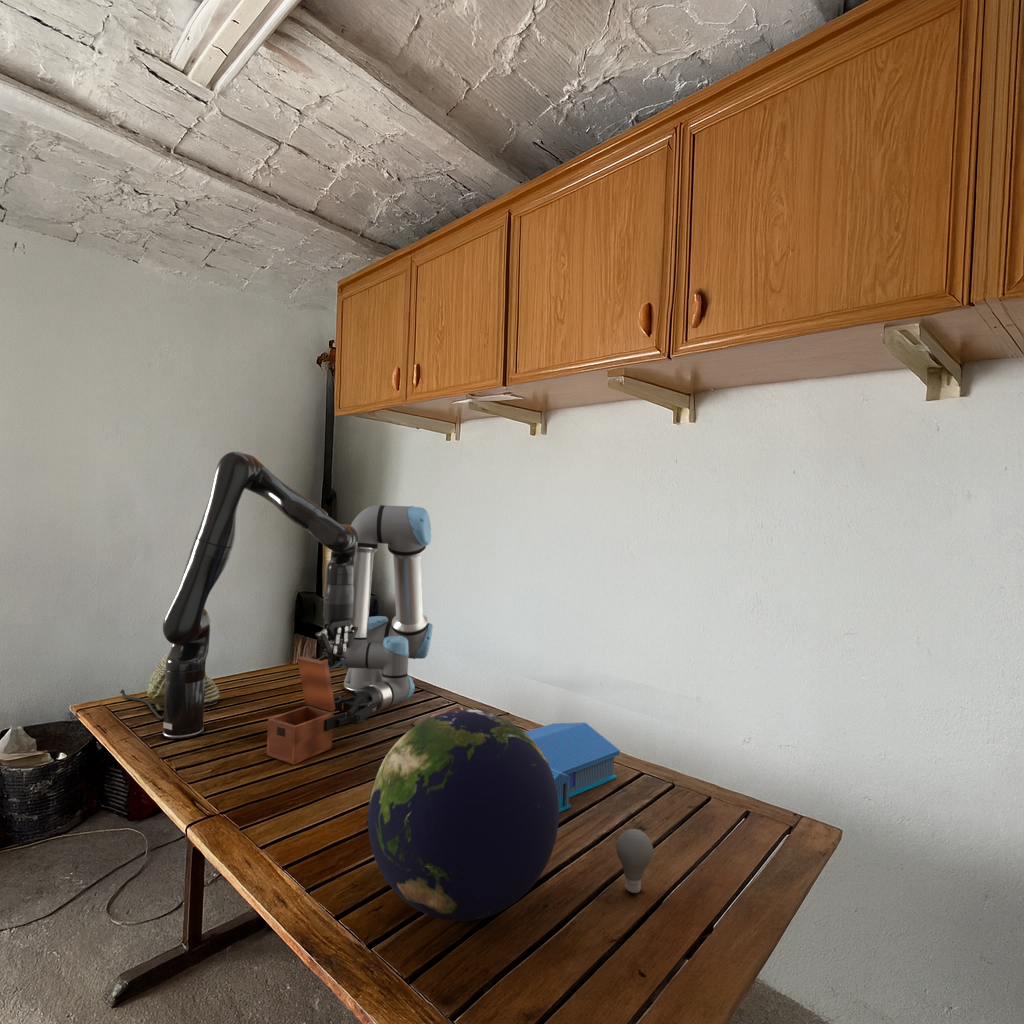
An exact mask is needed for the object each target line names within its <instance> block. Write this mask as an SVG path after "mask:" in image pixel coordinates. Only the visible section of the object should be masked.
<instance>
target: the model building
mask: <svg viewBox="0 0 1024 1024" xmlns="http://www.w3.org/2000/svg"><path fill="white" fill-rule="evenodd" d="M524 732H525V733H526V734H527V735H528V736H529V737H530V738H531V739H532V740H533V741H534V742H535V743H536V744H537V746H538V747H539V748H540V750H541V751H542V753H543V754H544V756H545V758H546V760H547V761H548V764H549V766H550V769H551V771H552V774H553V777H554V780H555V784H556V788H557V793H558V801H559V813H562V812H563V811H566V810H569V809H571V808H572V805H571V804H570V798H572V797H575V796H577V795H580V794H582V793H585V792H587V791H589V790H591V789H594V788H597V787H599V786H601V785H603V784H605V783H609V782H610V781H613V780H615V779H617V778H618V776H617V775H616V774H614V771H615V770H614V768H615V767H614V765H615V757H617V756H620V754H621V750H620V749H619V748H618V747H617V746H616V745H614V744H613V743H612V742H611V741H610V740H607V738H605V737H604V736H603V735H601V734H600V733H599V732H598V731H597V730H596V729H594V728H593V727H592V726H591V725H589V724H588V723H587V722H560V723H559V722H558V723H555V722H554V723H550V724H546V725H544V726H543V725H542V726H540V727H537V728H533V729H530V730H526V731H524Z"/></svg>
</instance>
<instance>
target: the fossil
mask: <svg viewBox="0 0 1024 1024" xmlns="http://www.w3.org/2000/svg"><path fill="white" fill-rule="evenodd" d="M168 655H169V654H165V655H164V656H163V657H162V658H161V659H160V660H159V662H158V663H157V666H156V667H155V669H154V670H153V672H152V675H151V677H150V680H149V684H148V688H147V697H148V699H149V700H150V701H152V703H153V704H154V706H155V710H156V711H158V712H159V711H162V712H163V711H164V705H165V674H166V659H167V657H168ZM220 698H221V696H220V690H219V688H218V686H217V685H216V683H215V682H214V681H213V679H212V678H211V677H209V675H208V674H207V672H206V671H205V693H204V707H207V706H213V705H215V704H217V703H218V701H219V699H220Z"/></svg>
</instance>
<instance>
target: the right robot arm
mask: <svg viewBox="0 0 1024 1024" xmlns="http://www.w3.org/2000/svg"><path fill="white" fill-rule="evenodd" d="M350 526H352V527H353V528H354V529H355V530H356V532H357V536H358V545H357V552H356V557H355V562H354V580H353V588H354V602H353V618H352V619H350V621H351V625H353V626H356V627H358V631H357V633H356V636H355V638H354V641H353V643H352V645H351V647H350V648H347V649H346V651H345V656H347V657H348V658H349V661H348V662H347V663H343V666H337V667H336V668H346V669H347V672H346V675H345V677H344V680H343V690H344V691H346V692H347V693H351V694H353V695H349V696H348V697H343V695H342V694H338V695H336V696H333V697H334V703H335V710H333V711H328V710H325V709H321V708H318V707H314V706H310V705H309V706H310V707H313V708H317V709H321V710H324V711H328V712H331V713H334V712H339V714H337V715H333V717H331V718H328V719H326V720H325V723H324V731H328V730H331V729H333V730H334V729H336V728H338V727H341V726H343V725H346V724H347V725H348V724H349V725H350V724H352V723H353V725H355V726H357V725H359V724H361V723H362V722H363V721H365V720H367V719H368V718H369V717H371V716H374V715H376V714H377V712H378V713H379V712H380V711H381V710H384V709H386V708H388V707H391V706H394V705H397V704H400V703H402V702H404V701H406V700H408V699H409V698H412V697H413V694H414V693H415V683H414V679H413V678H412V676H411V675H409V674H408V671H409V659H412V660H416V659H417V660H420V659H422V660H423V659H426V658H427V657H428V655H429V652H430V647H431V641H432V635H433V628H434V625H433V623H431V622H429V621H428V620H429V619H428V617H427V615H425V614H424V612H423V610H424V609H423V608H424V607H423V605H424V604H423V572H422V566H423V565H422V553H424V552H425V550H426V549H427V546H429V545H430V543H431V539H432V532H431V531H432V526H431V520H430V515H429V512H428V510H426V509H425V508H424V507H420V506H414V505H409V506H405V505H383V504H374V505H370V506H368V507H366V508H364V509H363V510H361V511H360V512H359V513H358V514H357V515H356V517H354V519H353V520H352V522H351V524H350ZM379 544H385V545H387V550H388V552H389V553H390V554H391V555H392V556H393V577H394V578H393V579H394V598H395V615H394V617H393V618H392V620H391V621H389V618H388V617H387V616H382V615H376V616H375V615H374V616H370V606H371V594H372V593H371V592H372V581H373V568H374V555H375V553H376V552H377V551H378V545H379ZM348 641H349V639H348ZM347 643H348V642H347ZM341 644H342V643H341ZM332 649H333V647H332ZM337 651H338V650H337Z"/></svg>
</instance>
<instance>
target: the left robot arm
mask: <svg viewBox="0 0 1024 1024" xmlns="http://www.w3.org/2000/svg"><path fill="white" fill-rule="evenodd" d="M245 490H247V491H250V492H251V493H254V494H256V495H258V496H260V497H262V498H263V499H265V500H266V501H268V502H269V503H270V504H272V505H273V506H274V507H275V508H276V509H277V510H278V511H279V512H280V513H281V514H283V516H285V518H286V519H288V520H290V521H291V522H293V523H294V524H295V525H297V526H298V527H300V528H301V529H303V530H304V531H306V532H308V533H309V534H311V536H313V538H315V539H316V540H317V541H318V542H319V543H321V545H323V546H324V547H325V548H327V549H329V550H330V558H329V561H328V562H327V564H326V568H325V583H324V584H325V586H324V591H323V611H322V618H323V619H324V624H323V629H322V630H321V631H316V632H315V634H314V635H315V638H316V641H317V643H318V645H319V647H320V650H321V651H322V652H323V653H325V652H327V653H328V659H327V662H328V667H331V666H332V665H334V664H336V663H337V662H338V661H337V654H338V655H342V656H345V651H346V649H347V648H350V647H351V645H352V643H353V641H354V638H355V636H356V633H357V631H358V627H356V626H353V625H351V621H350V619H352V618H353V602H354V588H353V580H354V562H355V557H356V552H357V545H358V536H357V532H356V530H355V529H354V528H353V527H352V526H351V524H348V523H340V522H338V521H336V520H335V519H333V517H330V516H329V514H328V512H327V511H326V510H325V509H323V508H322V507H321V506H319V505H318V504H316V503H315V502H314V501H312V500H310V499H309V498H307V497H305V496H304V495H302V494H301V493H299V492H298V491H297V490H295V489H293V488H292V487H290V486H289V485H287V484H285V483H284V482H283V481H282V480H280V479H279V478H278V477H277V476H276V475H274V474H273V473H272V472H271V470H269V469H268V468H267V467H266V466H265V465H264V464H263V463H262V462H261V461H260V460H258V459H257V458H256V457H255V456H253V455H251V454H249V453H245V452H241V451H230V452H227V453H225V454H224V455H223V456H222V457H221V458H220V459H219V461H218V463H217V465H216V469H215V473H214V477H213V482H212V486H211V490H210V495H209V498H208V501H207V504H206V507H205V510H204V512H203V514H202V518H201V521H200V524H199V526H198V530H197V532H196V534H195V537H194V539H193V542H192V545H191V549H190V551H189V555H188V558H187V561H186V564H185V568H184V570H183V573H182V577H181V581H180V584H179V587H178V589H177V592H176V593H175V596H174V598H173V600H172V603H171V604H170V606H169V608H168V611H167V612H166V615H165V617H164V619H163V622H162V633H163V636H164V638H165V639H166V640H167V641H168V643H169V644H171V647H170V651H169V653H168V654H167V655H168V657H167V659H166V674H165V705H164V710H163V715H160V714H159V711H158V710H156V708H155V707H154V706H153V705H152V703H151V702H150V701H149V700H147V699H144V698H140V697H134V696H129V695H127V694H126V692H125V690H124V689H121V690H120V691H119V692H120V694H121V695H122V697H123V698H125V699H128V700H130V701H137V702H142V703H145V704H146V705H147V706H148V707H149V709H150V710H151V712H153V714H154V715H155V716H156V718H158V719H159V720H163V723H162V724H163V728H162V729H163V731H162V737H164V738H166V739H169V740H185V739H190V738H191V739H192V738H194V737H197V736H199V735H202V734H203V732H204V730H205V729H204V722H205V721H204V718H205V706H204V693H205V672H206V664H207V663H206V662H207V658H208V655H209V651H210V650H209V649H210V637H211V636H210V635H211V619H210V615H209V613H208V611H207V610H206V609H205V607H206V603H207V600H208V598H209V595H210V593H211V592H212V589H214V586H215V585H216V583H217V582H218V580H219V578H220V577H221V575H222V574H223V572H224V571H225V568H226V566H227V564H228V562H229V560H230V556H231V554H232V551H233V548H234V545H235V543H236V535H237V534H236V533H237V511H238V506H239V503H240V501H241V498H242V496H243V494H244V491H245ZM348 639H349V641H348ZM347 642H348V643H347ZM341 643H342V644H341ZM332 648H333V649H332ZM337 650H338V651H337ZM339 666H343V663H342V664H341V665H339Z"/></svg>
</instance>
